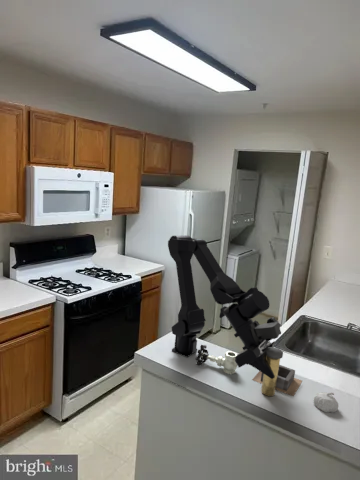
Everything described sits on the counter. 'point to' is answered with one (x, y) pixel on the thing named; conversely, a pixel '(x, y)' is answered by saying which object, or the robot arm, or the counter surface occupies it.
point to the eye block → (283, 380)
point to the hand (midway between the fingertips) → (275, 375)
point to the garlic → (326, 402)
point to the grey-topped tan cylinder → (273, 359)
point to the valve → (218, 360)
